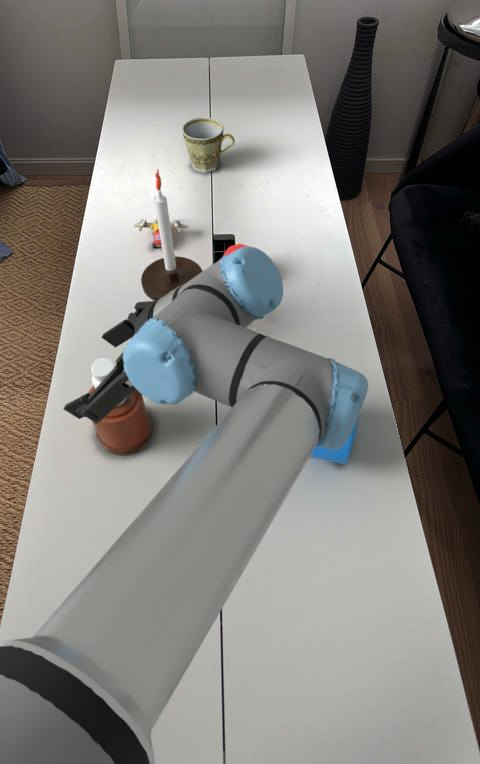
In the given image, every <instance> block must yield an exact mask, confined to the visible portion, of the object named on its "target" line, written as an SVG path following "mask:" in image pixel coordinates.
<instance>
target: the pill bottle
mask: <svg viewBox="0 0 480 764" xmlns="http://www.w3.org/2000/svg"><path fill="white" fill-rule="evenodd" d="M115 366H116V363H115V361H113V360H112V359H111V358H108V357H100V358H97V359H96V360H94V361H93V363H92V364H91V366H90V370H91V374H92V376H91V383H92V385H93V386H94V388H95V389H96V388H97V387H98V385H99V384H100V383H101V382H102V381H103V380H104V379H105V377H106V376H107V375H108V374H109V373H110V372H111V371H112V370H113V368H114V367H115ZM126 398H127V397H126ZM126 398H125V399H124V400H123V401H122V402H121V403H120V404H119V405H121V404H122V403H124V401H125V400H126ZM119 405H117V406H119ZM117 406H116V407H117Z"/></svg>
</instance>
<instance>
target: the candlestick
mask: <svg viewBox="0 0 480 764" xmlns="http://www.w3.org/2000/svg"><path fill="white" fill-rule="evenodd" d="M154 177H155V179H156V180H155V188H156V196H154V198H153V202H154V207H155V213H156V214H157V220H158V226H159V232H160V238H161V244H162V247H161V249H162V256H163V257H162V258H159V259H156V260H155V261H153V262H151V263H150V264H148V265H147V266H146V268H145V269H144V270H143V272H142V274H141V278H140V281H141V287H142V290H143V292H144V294H145V295H146V296H147V297H148V298H149V299H150V300H151V301H156V300H158V299H160V298H162V297H163V296H165V295H166V294H168V293H169V292H171V291H172V290H174V289H175V288H177V287H178V286H181V285H183V284H185V283H187V282H188V281H190V280H191V279H193V278H194V277H195V276H197V275H198V274H200V273H201V272H203V271H204V270H203V269H202V267H201V266H200V264H199V263H197V262H196V261H194V260H192V259H190V258H187V257H185V256H178V255H177V256H176V255H175V248H174V242H173V241H174V239H173V233H172V228H171V226H170V222H171V221H170V220H171V219H170V213H169V206H168V199H167V196H165V194H163V193H162V189H161V188H162V178H161V176H160V171H159V168H157V169H156V173H155V174H154ZM156 214H155V215H156Z"/></svg>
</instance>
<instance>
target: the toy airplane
mask: <svg viewBox="0 0 480 764" xmlns="http://www.w3.org/2000/svg"><path fill="white" fill-rule="evenodd" d="M170 226H171V229H177V232H178V233H181V231H182V229H187V228H188V224H186V223H181V221H180V220H179V219H175V218H173V219H172V221H170ZM133 228H139V229H138V231H139V232H142V231H143V228H146V229H147V228H149V229H150V230H153V241H152V249H156V247H158V248H162V244H161V238H160V232H159V226H158V220H157V214H154V216H153V222H147V218H143V219H141V220H140V221H139V222H135V223H134V224H133Z"/></svg>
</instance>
